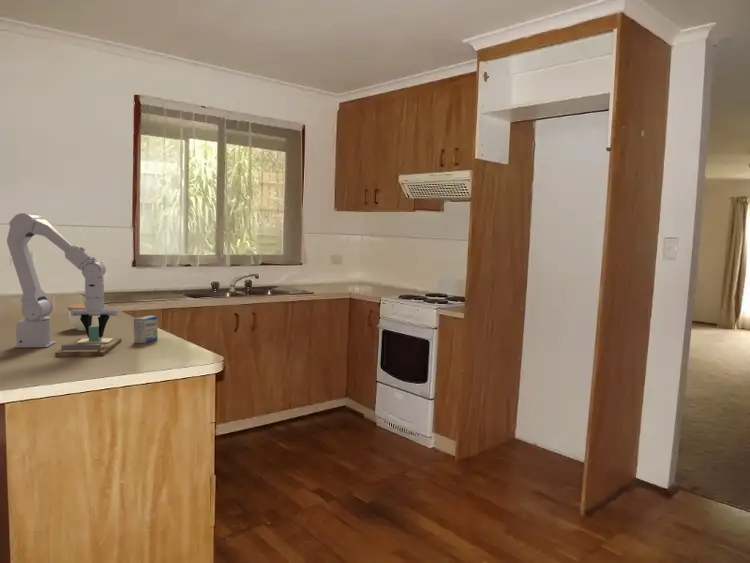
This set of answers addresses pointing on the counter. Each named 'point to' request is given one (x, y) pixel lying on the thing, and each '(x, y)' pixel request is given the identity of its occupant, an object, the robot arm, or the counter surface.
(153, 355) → the counter surface
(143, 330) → the medicine box
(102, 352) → the board
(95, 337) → the cream plaque with block
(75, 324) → the lidded bowl
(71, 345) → the grey flat block
